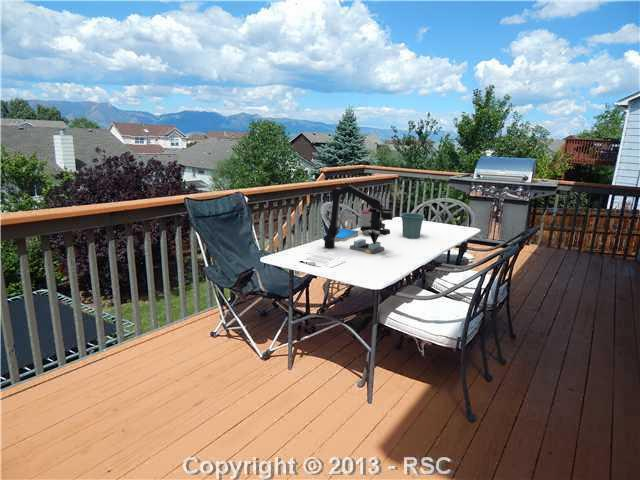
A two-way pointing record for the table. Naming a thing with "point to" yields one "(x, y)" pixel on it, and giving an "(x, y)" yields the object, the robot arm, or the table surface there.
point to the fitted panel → (360, 242)
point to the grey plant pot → (366, 219)
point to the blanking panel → (374, 246)
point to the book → (344, 235)
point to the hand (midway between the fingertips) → (374, 243)
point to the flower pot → (412, 224)
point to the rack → (366, 250)
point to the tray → (322, 260)
